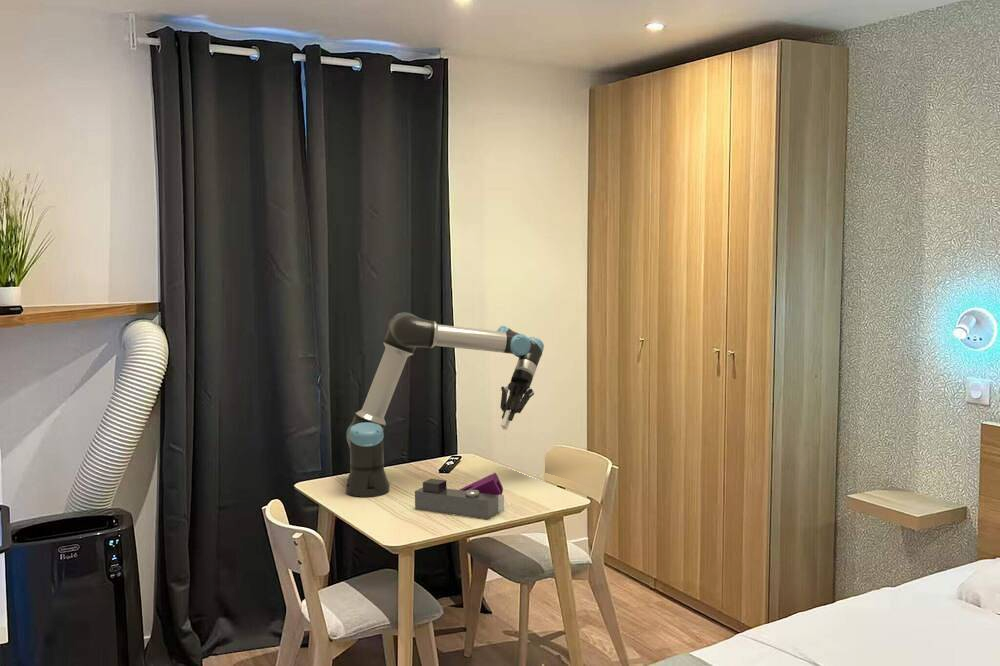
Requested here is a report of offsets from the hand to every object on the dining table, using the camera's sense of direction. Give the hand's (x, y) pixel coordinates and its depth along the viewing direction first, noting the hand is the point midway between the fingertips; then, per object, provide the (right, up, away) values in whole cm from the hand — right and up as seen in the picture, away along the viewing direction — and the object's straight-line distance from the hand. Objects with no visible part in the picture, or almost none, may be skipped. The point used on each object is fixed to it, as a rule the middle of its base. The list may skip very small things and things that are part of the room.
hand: (503, 427), depth 313 cm
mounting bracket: (-10, -24, -21) cm, 33 cm away
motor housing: (-15, -24, -28) cm, 39 cm away
